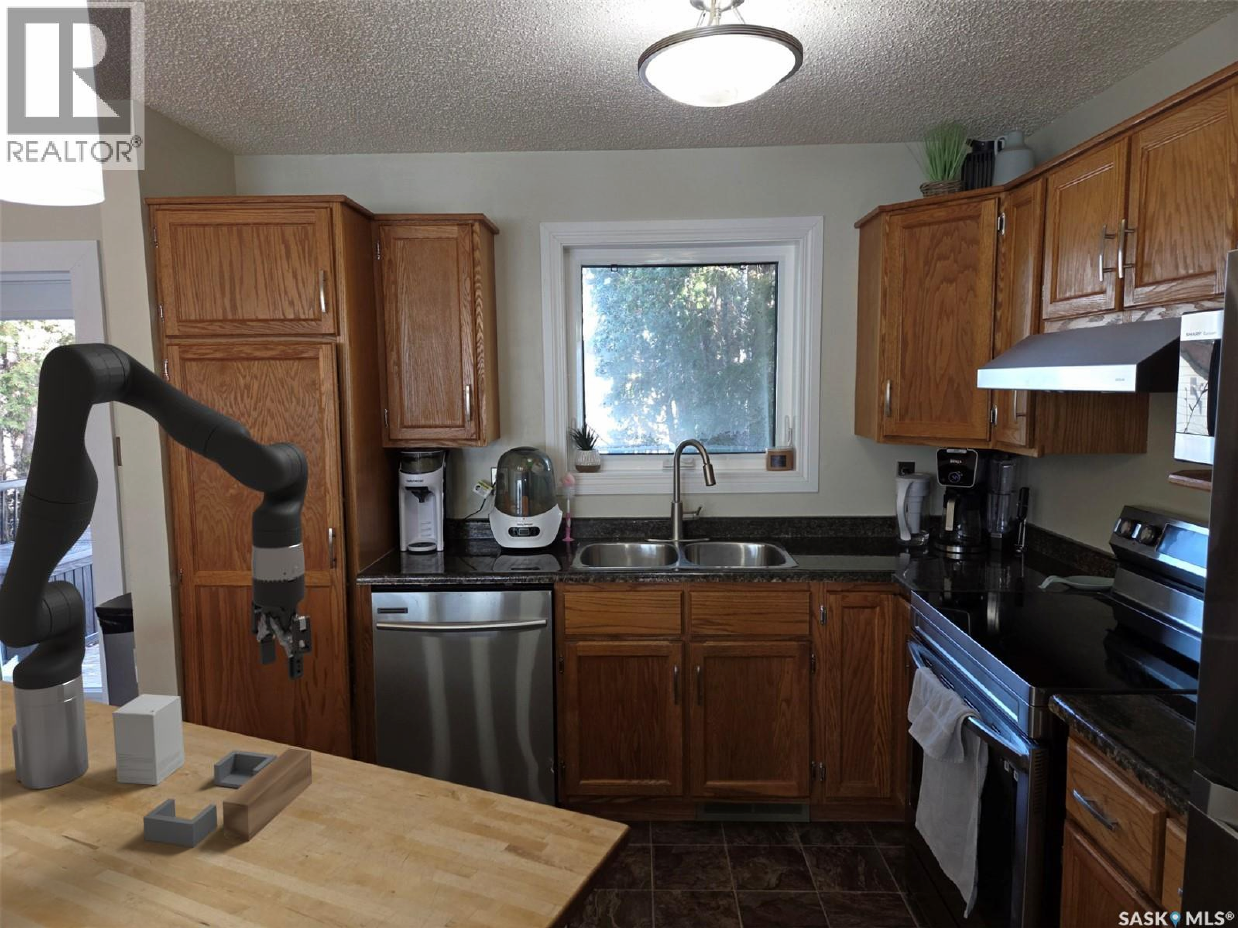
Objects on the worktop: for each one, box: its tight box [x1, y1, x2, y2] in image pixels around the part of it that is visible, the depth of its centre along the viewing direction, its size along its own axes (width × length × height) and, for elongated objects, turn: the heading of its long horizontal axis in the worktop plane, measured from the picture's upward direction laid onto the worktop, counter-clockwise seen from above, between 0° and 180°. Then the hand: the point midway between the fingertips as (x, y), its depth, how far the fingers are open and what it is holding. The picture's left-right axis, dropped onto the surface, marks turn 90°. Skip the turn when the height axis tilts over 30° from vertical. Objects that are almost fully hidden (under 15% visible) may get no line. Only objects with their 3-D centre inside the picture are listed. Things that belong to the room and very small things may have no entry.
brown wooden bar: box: [222, 748, 313, 842], centre depth 120 cm, size 4×16×6 cm, turn 169°
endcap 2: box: [213, 749, 278, 789], centre depth 128 cm, size 8×5×4 cm, turn 80°
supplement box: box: [111, 693, 185, 786], centre depth 129 cm, size 7×7×13 cm
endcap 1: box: [143, 798, 218, 848], centre depth 113 cm, size 8×5×4 cm, turn 80°
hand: (281, 670), depth 119 cm, fingers open, 8 cm apart
